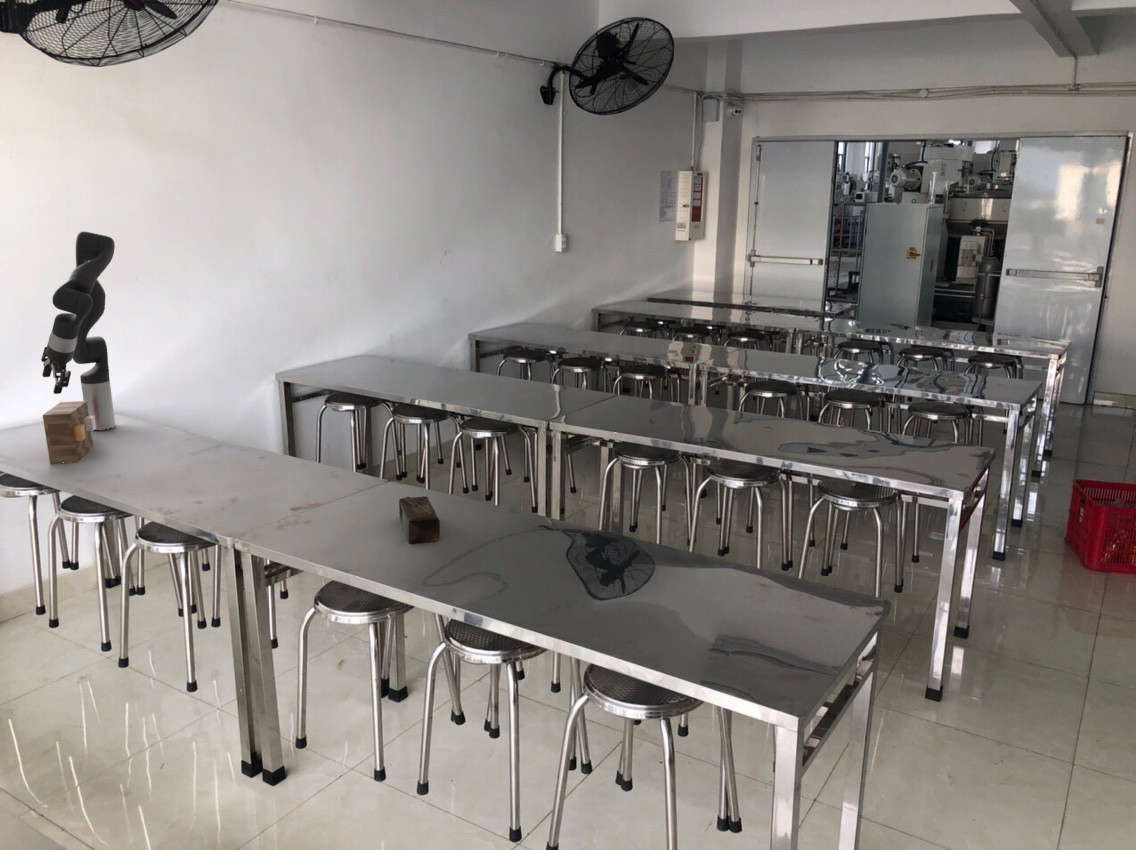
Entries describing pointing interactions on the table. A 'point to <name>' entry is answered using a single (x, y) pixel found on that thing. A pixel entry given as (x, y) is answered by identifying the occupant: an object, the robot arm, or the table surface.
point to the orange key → (79, 432)
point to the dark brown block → (419, 520)
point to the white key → (90, 423)
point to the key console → (66, 432)
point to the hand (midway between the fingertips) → (51, 384)
